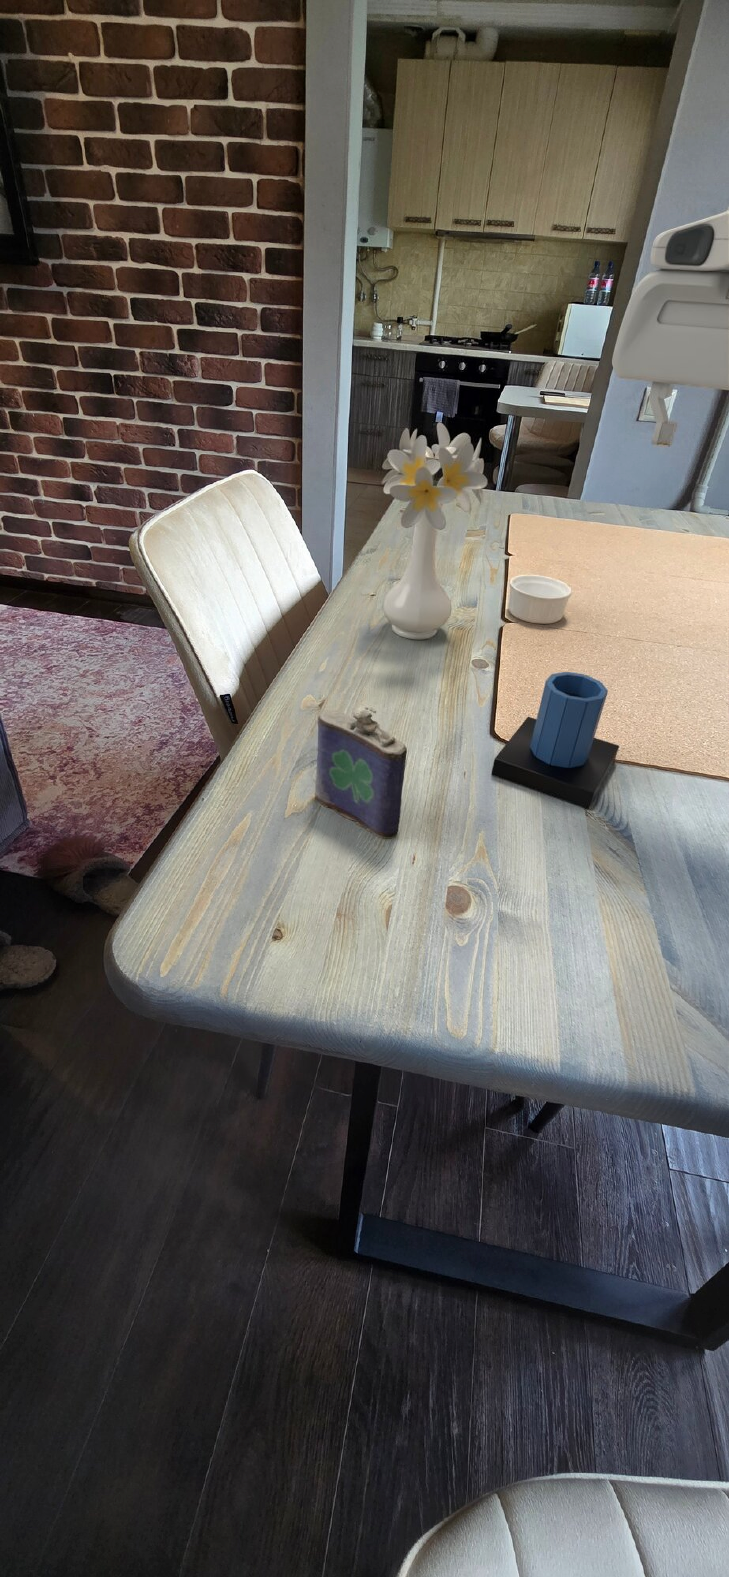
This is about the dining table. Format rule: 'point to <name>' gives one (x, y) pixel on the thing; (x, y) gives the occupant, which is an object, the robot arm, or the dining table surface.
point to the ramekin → (538, 598)
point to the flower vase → (427, 523)
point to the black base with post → (554, 768)
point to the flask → (360, 771)
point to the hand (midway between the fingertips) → (719, 453)
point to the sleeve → (567, 719)
